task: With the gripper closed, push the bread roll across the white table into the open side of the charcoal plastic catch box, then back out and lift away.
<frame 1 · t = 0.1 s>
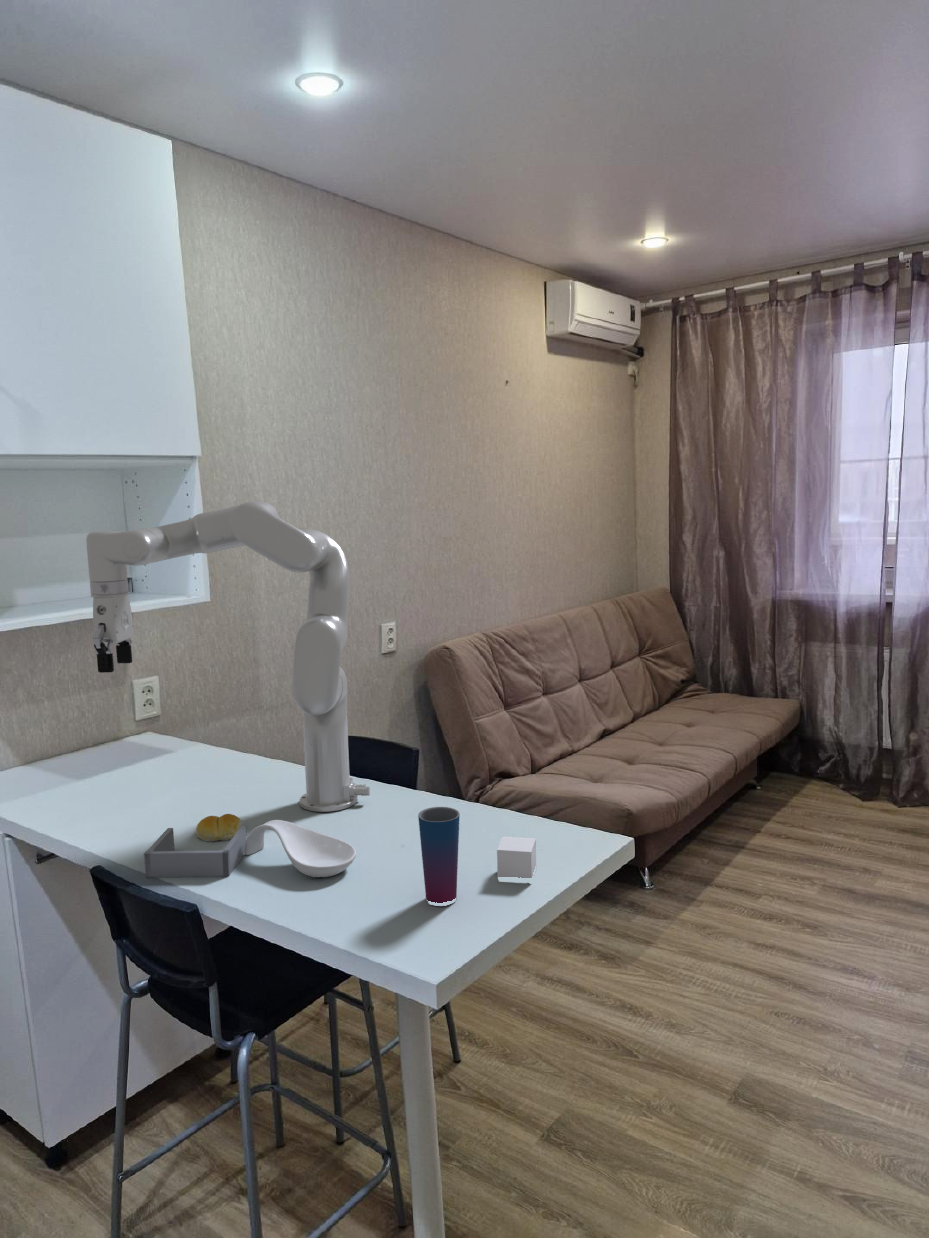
hand: (115, 667, 190), 31 cm above the breakfast bar, tool pointing down, fingers open, 9 cm apart
spoon rest: (298, 866, 162), on the breakfast bar
catch box: (198, 862, 163), on the breakfast bar
white cube: (517, 877, 155), on the breakfast bar
cup: (441, 901, 146), on the breakfast bar
bread roll: (220, 835, 177), on the breakfast bar
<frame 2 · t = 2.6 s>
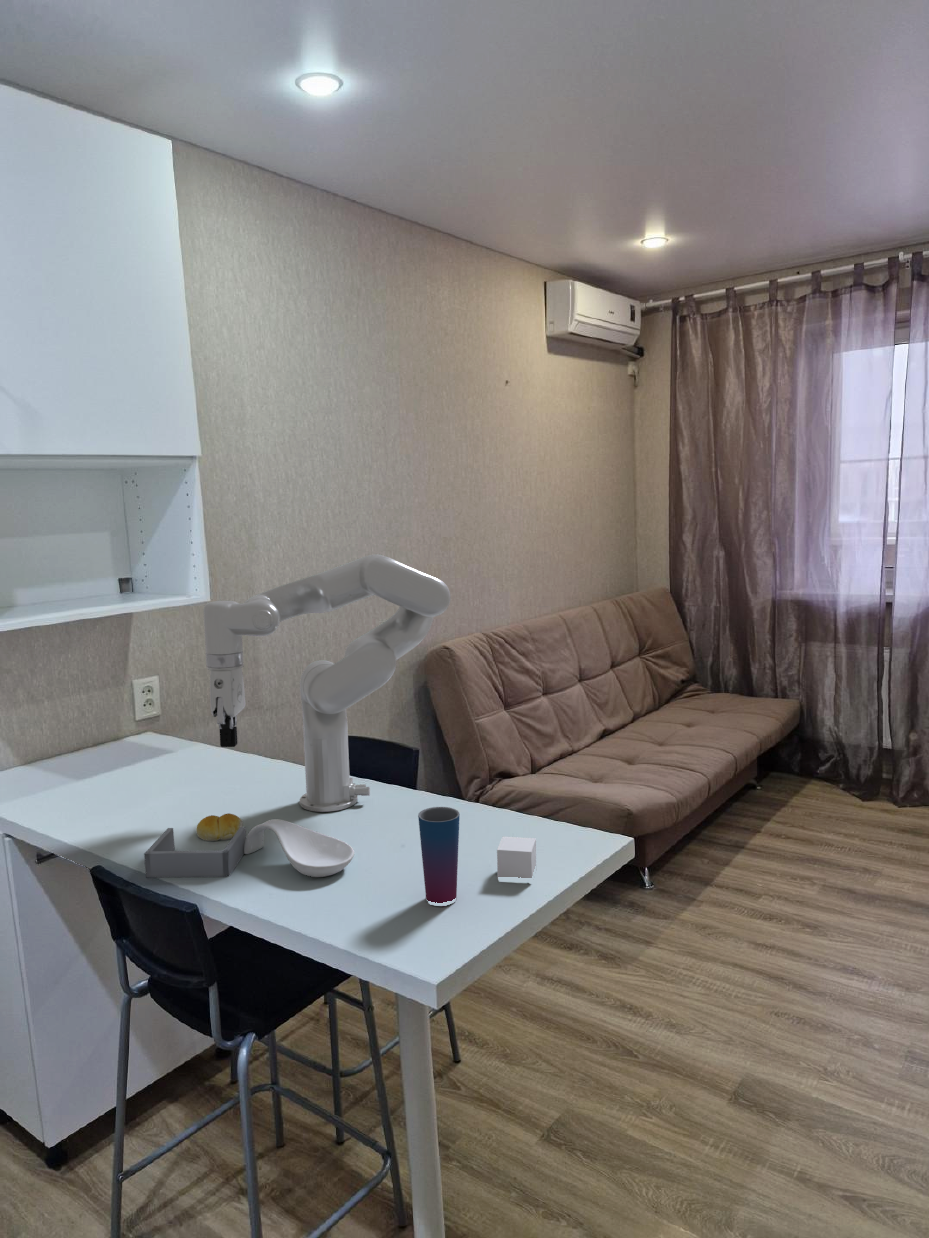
hand: (229, 745, 185), 15 cm above the breakfast bar, tool pointing down, fingers closed
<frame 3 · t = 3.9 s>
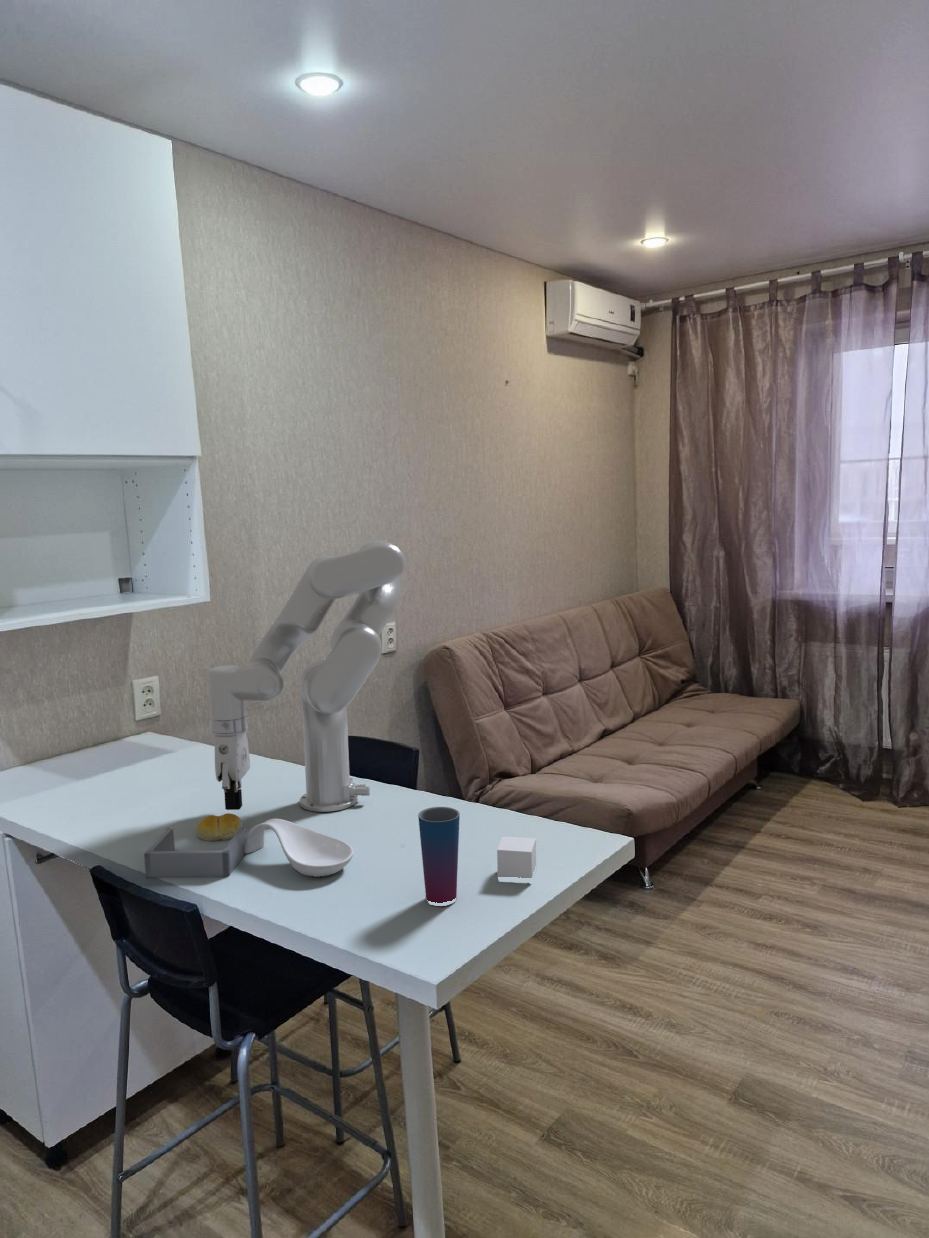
hand: (233, 808, 187), 1 cm above the breakfast bar, tool pointing down, fingers closed
nothing on the breakfast bar moved.
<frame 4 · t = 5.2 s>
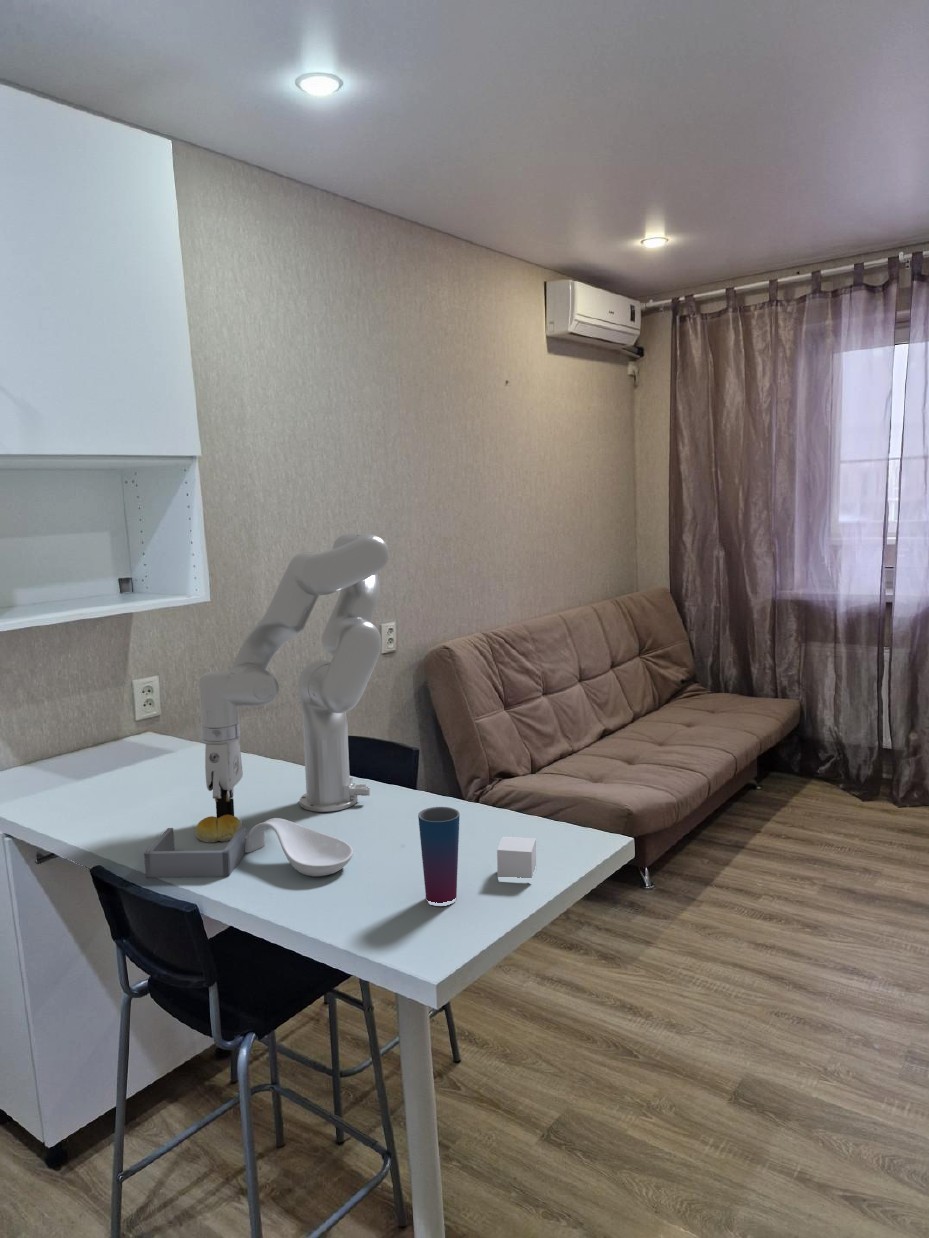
hand: (225, 818, 181), 1 cm above the breakfast bar, tool pointing down, fingers closed
bread roll: (220, 836, 176), on the breakfast bar, touching gripper
everything else where it was.
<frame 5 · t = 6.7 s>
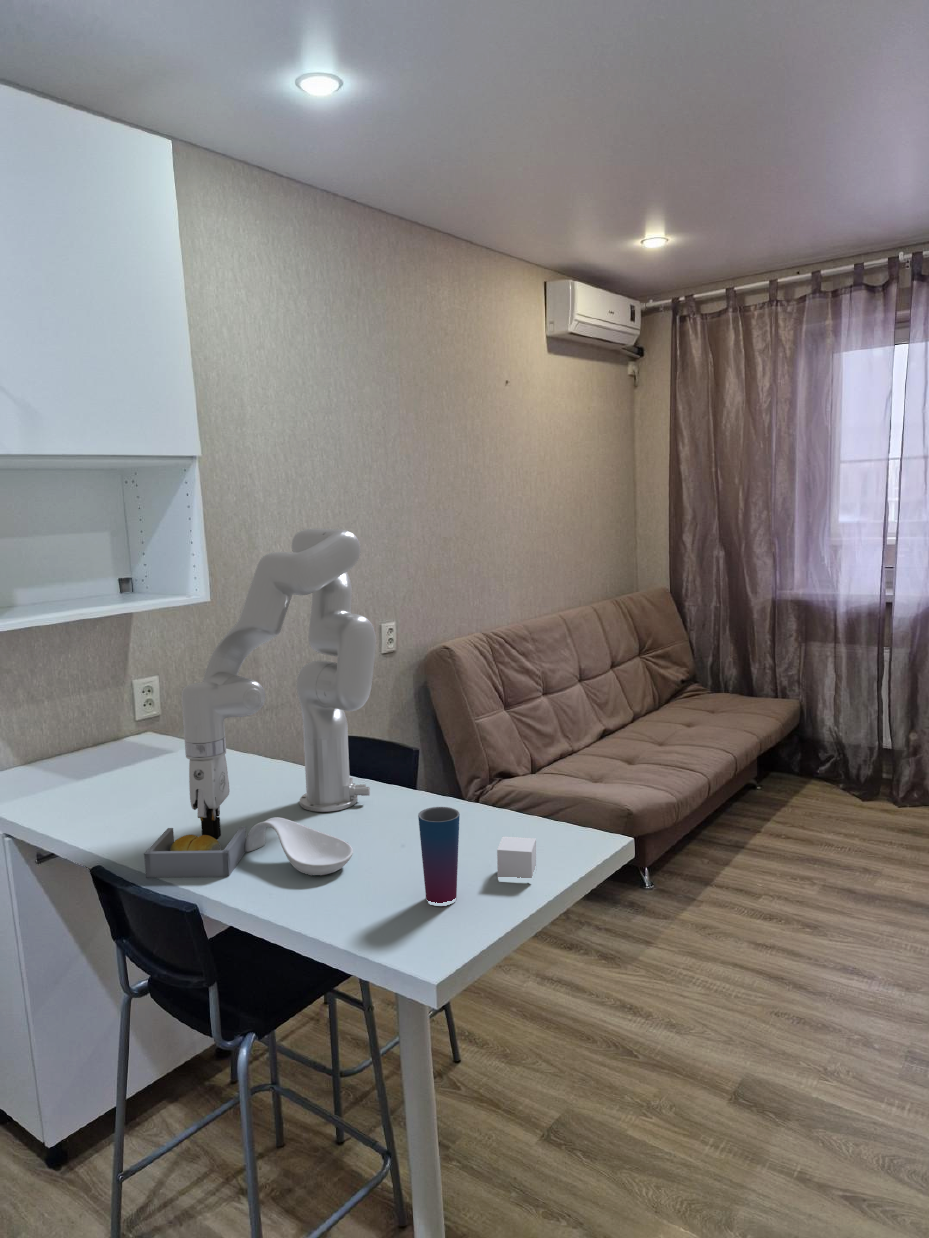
hand: (211, 837, 171), 1 cm above the breakfast bar, tool pointing down, fingers closed
bread roll: (195, 857, 167), on the breakfast bar
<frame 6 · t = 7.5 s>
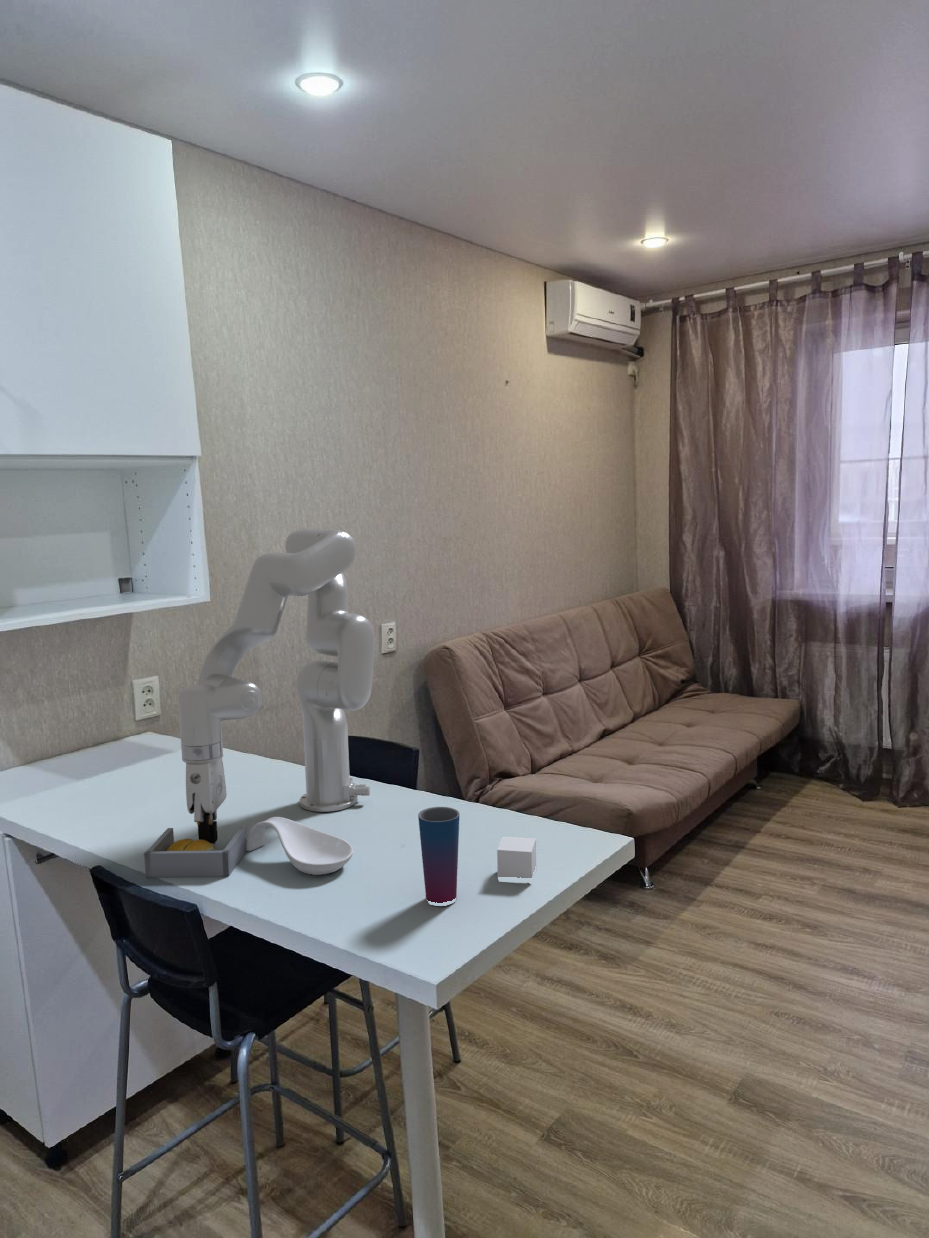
hand: (208, 842, 169), 1 cm above the breakfast bar, tool pointing down, fingers closed
bread roll: (191, 861, 165), on the breakfast bar, touching gripper
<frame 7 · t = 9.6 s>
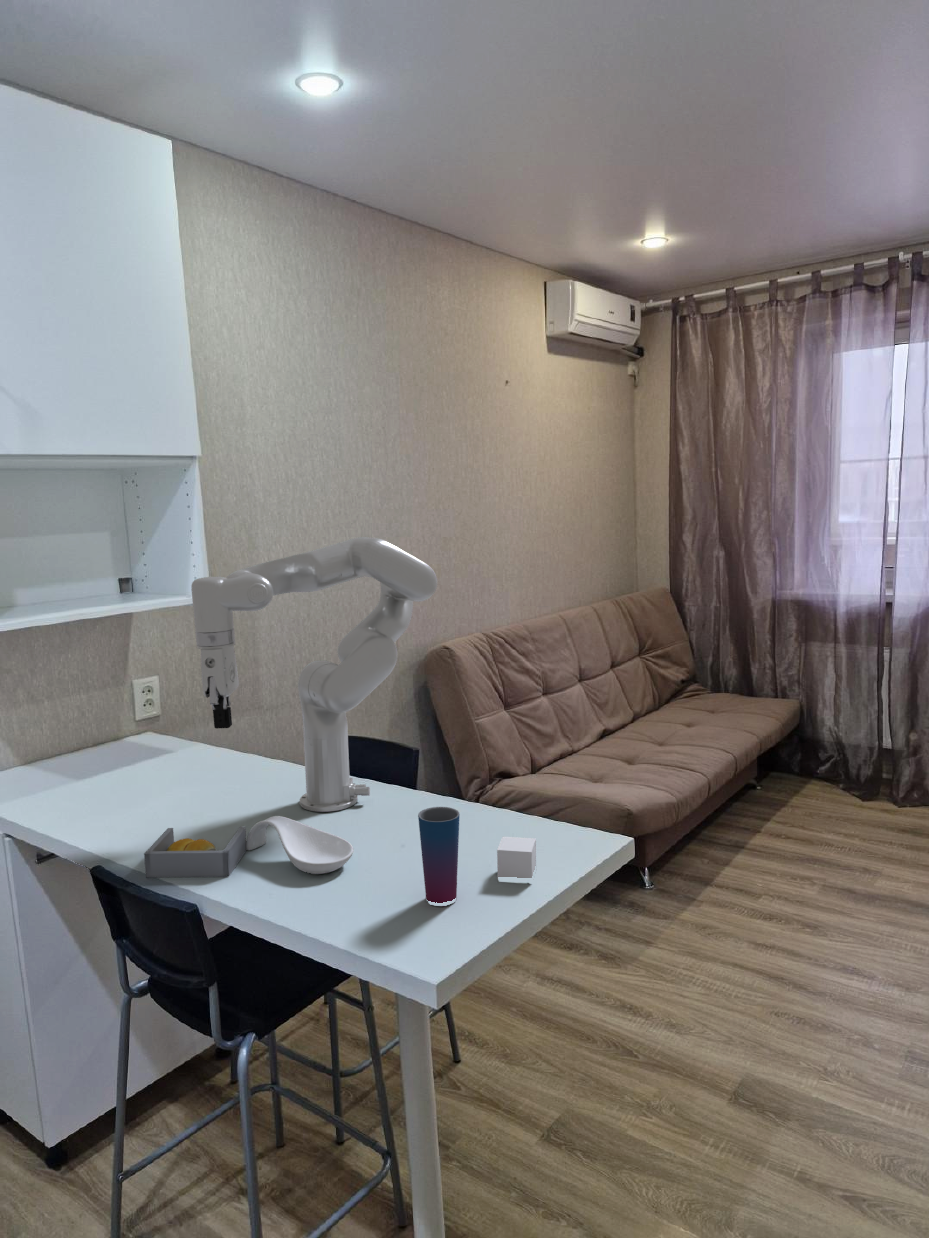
hand: (223, 726, 179), 21 cm above the breakfast bar, tool pointing down, fingers closed
bread roll: (191, 861, 165), on the breakfast bar
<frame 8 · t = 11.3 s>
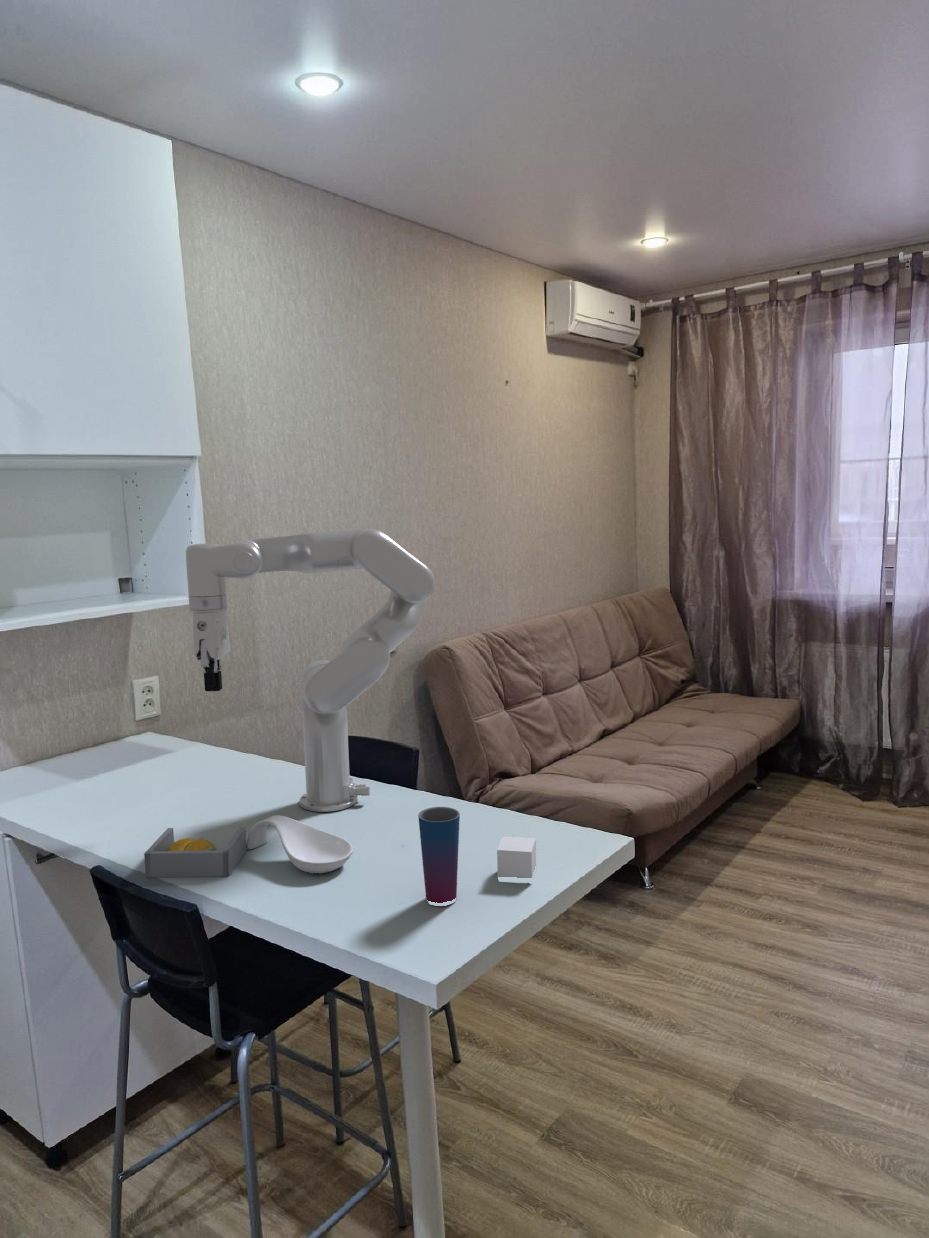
hand: (213, 690, 184), 27 cm above the breakfast bar, tool pointing down, fingers closed
at the end: bread roll inside the target area on the catch box (3.2 cm from its centre), point -0.5 cm above the catch box's base; bread roll moved 12.4 cm from its start; the gripper is holding nothing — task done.
